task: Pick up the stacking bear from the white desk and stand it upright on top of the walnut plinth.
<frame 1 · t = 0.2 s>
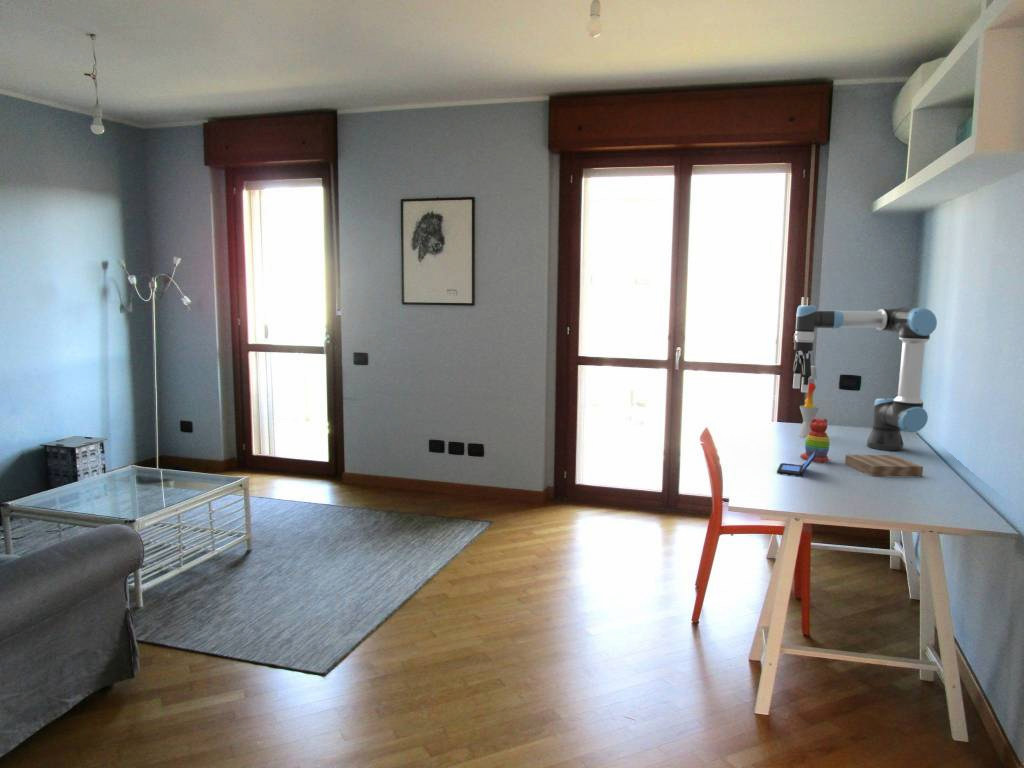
hand: (800, 390, 308), 28 cm above the table, tool pointing down, fingers open, 13 cm apart
lava lamp: (806, 436, 352), on the table
walnut plinth: (882, 470, 283), on the table
stacking bear: (815, 460, 299), on the table
handheld game console: (796, 473, 277), on the table
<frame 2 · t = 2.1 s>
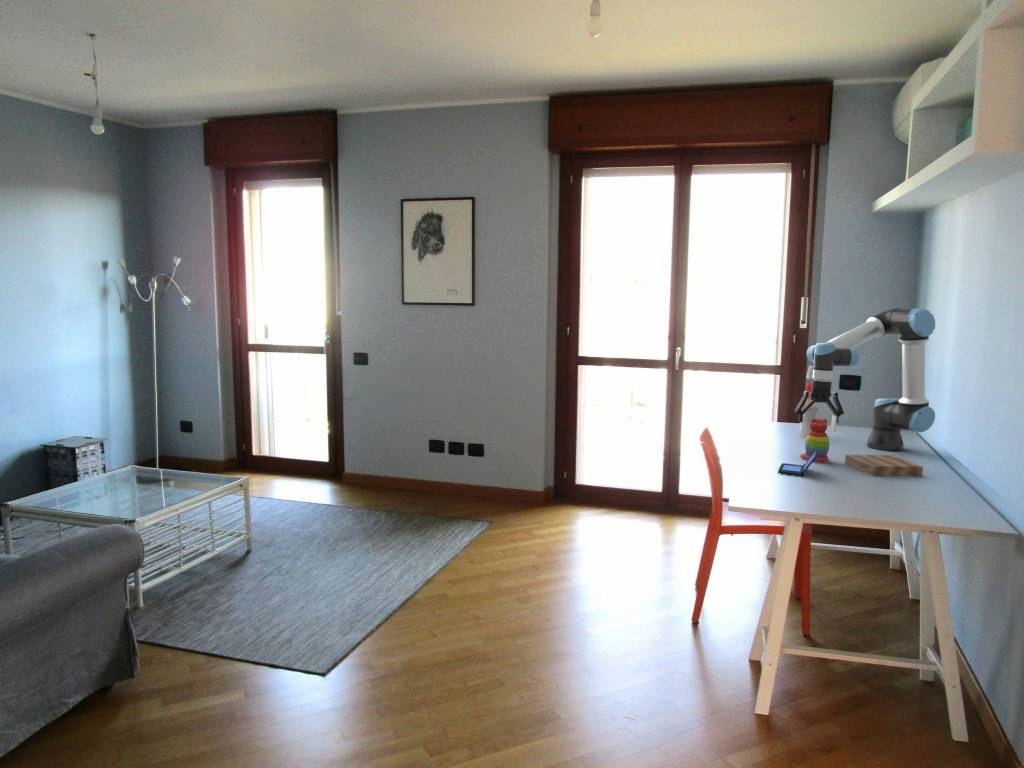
hand: (817, 430, 297), 13 cm above the table, tool pointing down, fingers open, 13 cm apart
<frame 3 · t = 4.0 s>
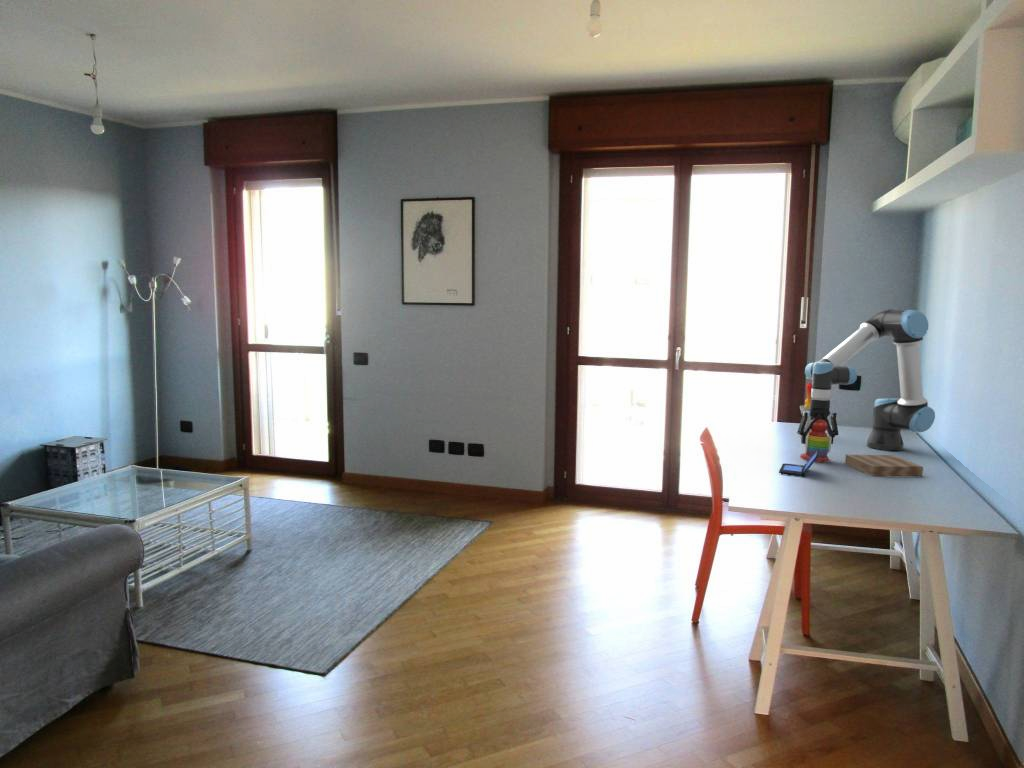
hand: (816, 451, 298), 4 cm above the table, tool pointing down, fingers closed on stacking bear, 9 cm apart
stacking bear: (815, 460, 299), on the table, touching gripper
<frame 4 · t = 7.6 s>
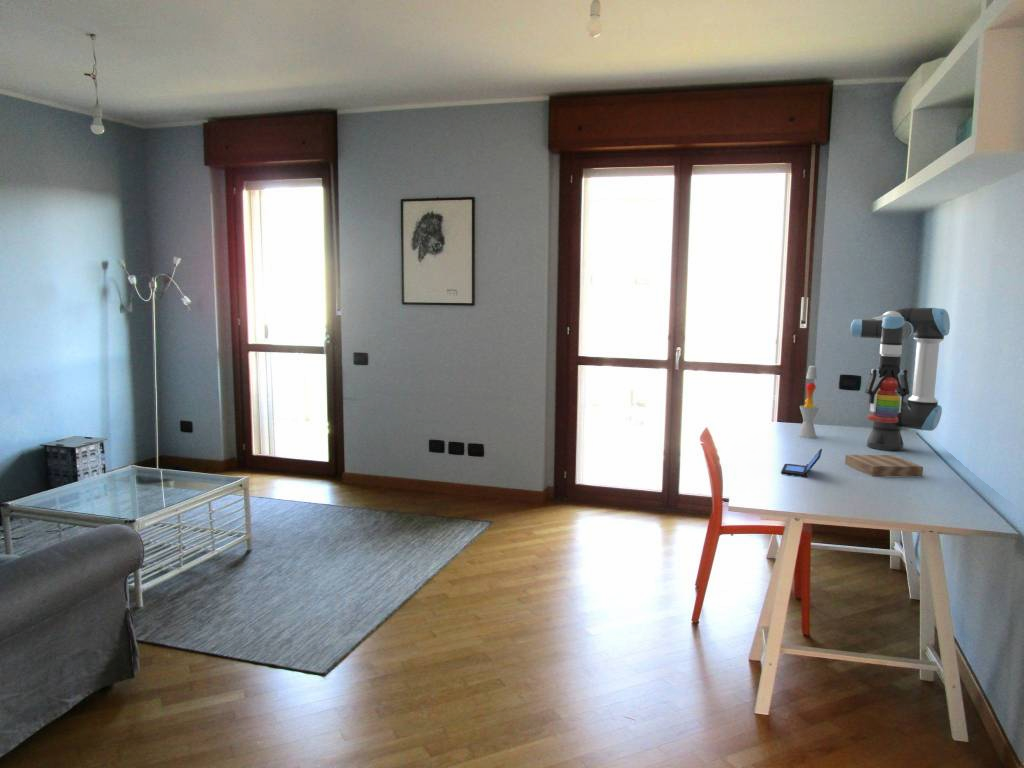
hand: (885, 411, 281), 24 cm above the table, tool pointing down, fingers closed on stacking bear, 9 cm apart
stacking bear: (884, 421, 281), point 20 cm above the table, touching gripper
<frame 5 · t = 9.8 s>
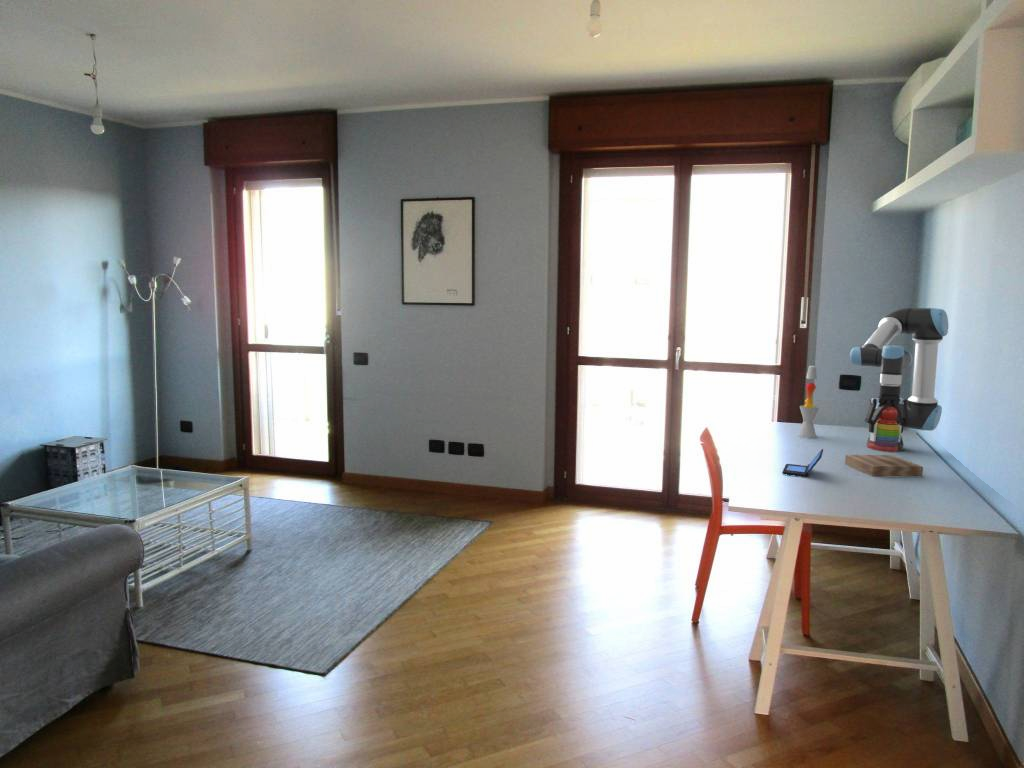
hand: (884, 440, 281), 12 cm above the table, tool pointing down, fingers closed on stacking bear, 9 cm apart
stacking bear: (884, 450, 282), point 8 cm above the table, touching gripper
when the fingers open (9 cm above the table, at t = 11.4 s): stacking bear drops 1 cm, resting on walnut plinth.
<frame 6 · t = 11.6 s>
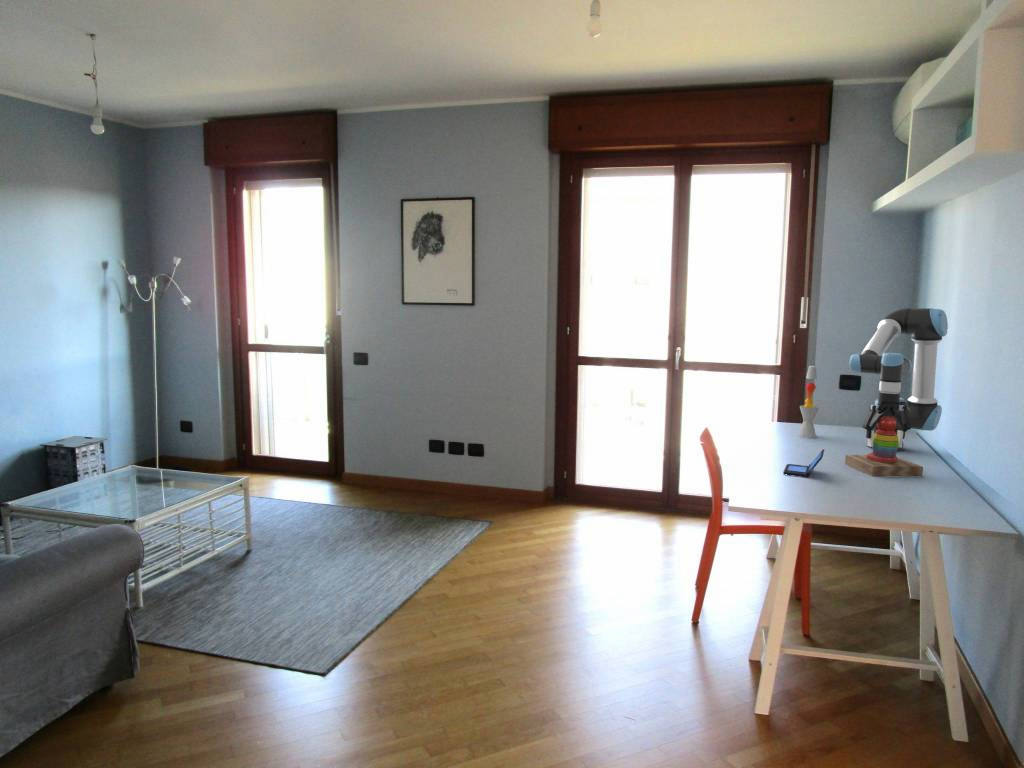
hand: (884, 446, 282), 10 cm above the table, tool pointing down, fingers open, 11 cm apart
stacking bear: (883, 460, 283), point 4 cm above the table, touching walnut plinth
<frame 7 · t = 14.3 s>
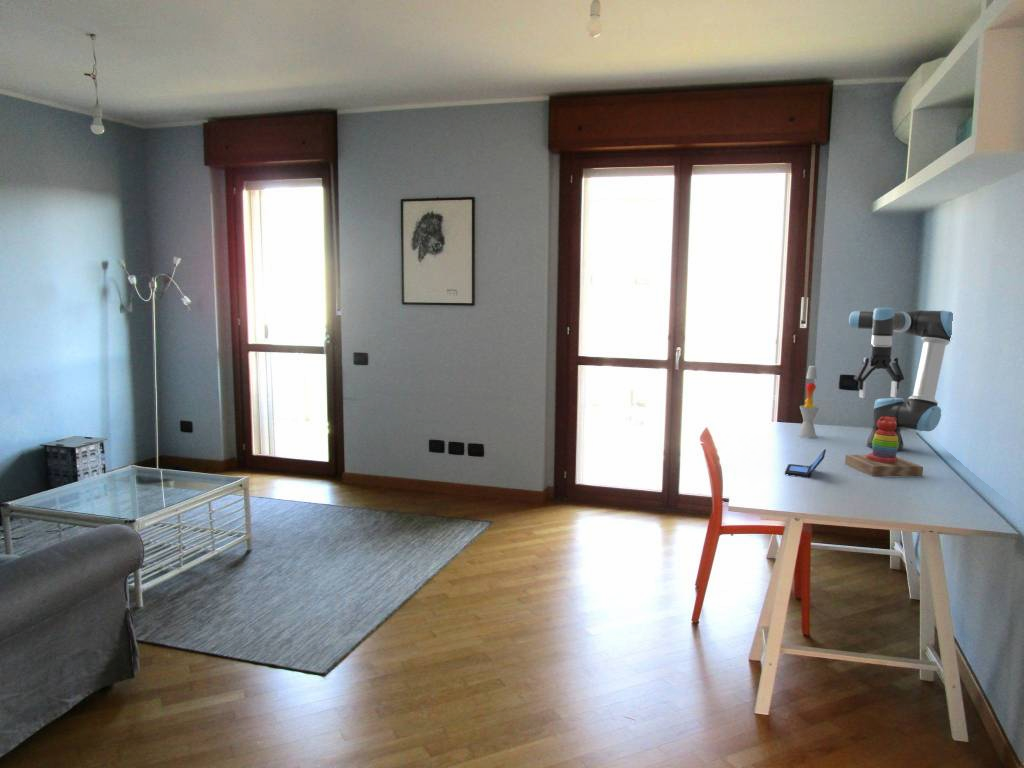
hand: (877, 397, 292), 28 cm above the table, tool pointing down, fingers open, 13 cm apart
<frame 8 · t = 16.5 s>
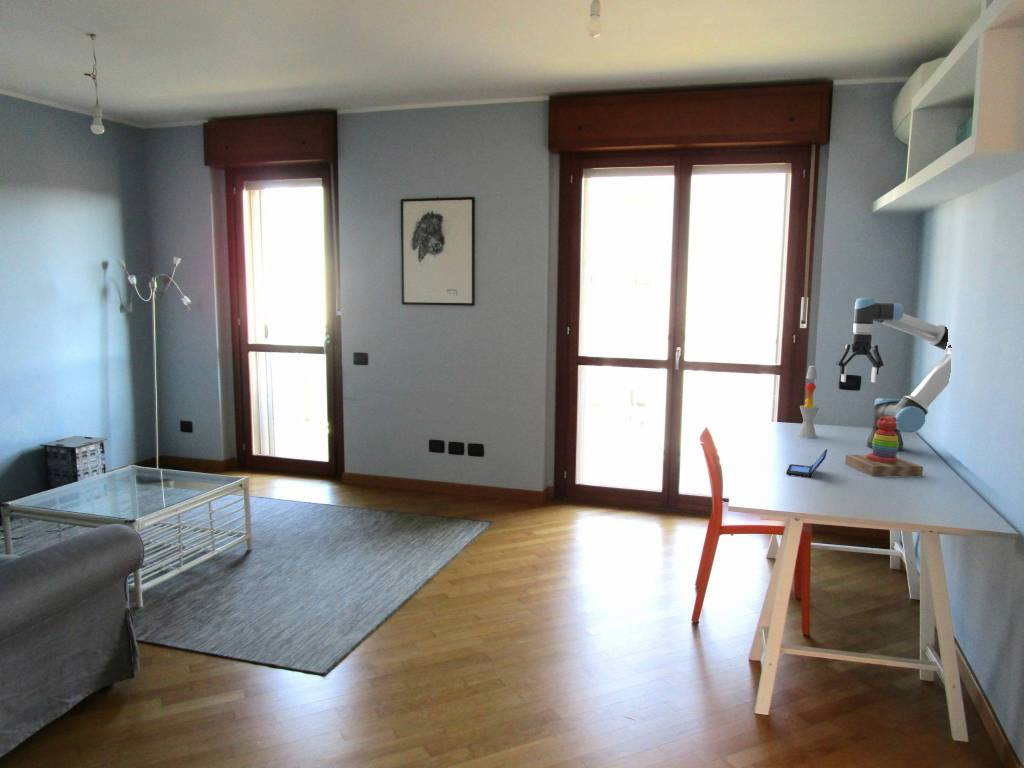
hand: (858, 382, 311), 32 cm above the table, tool pointing down, fingers open, 13 cm apart
at the end: stacking bear inside the target area on the walnut plinth (0.1 cm from its centre), point 3.8 cm above the walnut plinth's base; stacking bear tilted 0°; the gripper is holding nothing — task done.
